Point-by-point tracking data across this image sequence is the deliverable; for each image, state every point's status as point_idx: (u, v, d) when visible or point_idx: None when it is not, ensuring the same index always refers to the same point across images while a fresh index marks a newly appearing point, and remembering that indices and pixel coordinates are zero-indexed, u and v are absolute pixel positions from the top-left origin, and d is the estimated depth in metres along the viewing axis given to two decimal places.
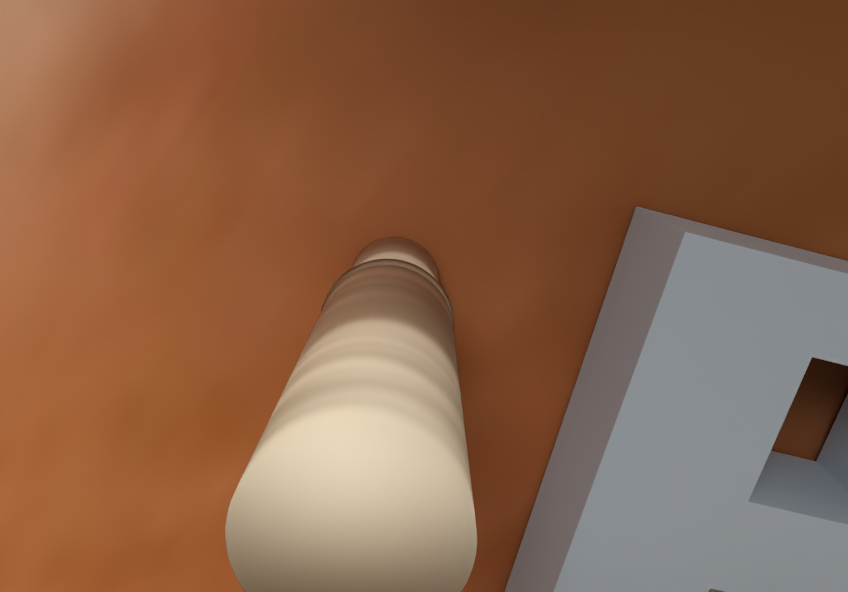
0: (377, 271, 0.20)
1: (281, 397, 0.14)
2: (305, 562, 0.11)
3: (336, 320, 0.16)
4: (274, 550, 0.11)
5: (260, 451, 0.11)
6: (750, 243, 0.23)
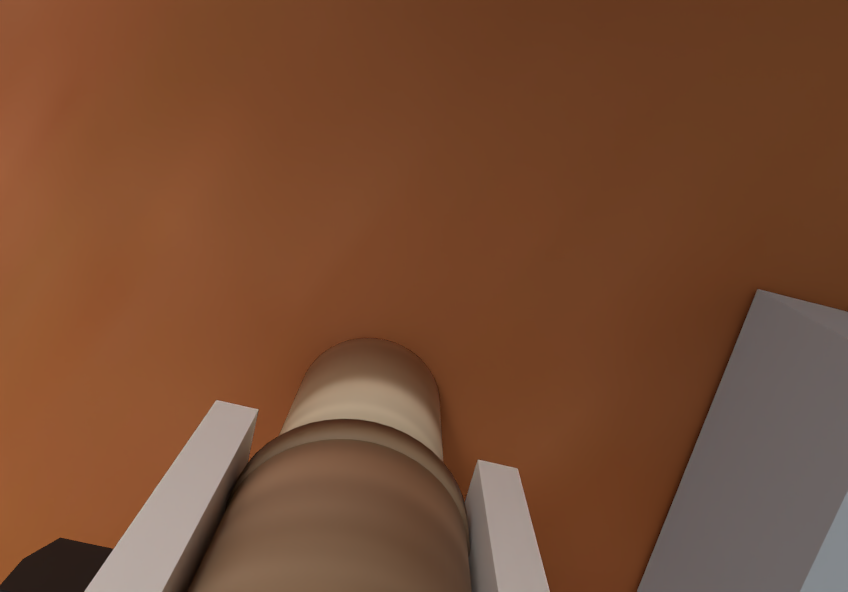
0: (321, 464, 0.10)
1: None
2: None
3: None
4: None
5: None
6: None
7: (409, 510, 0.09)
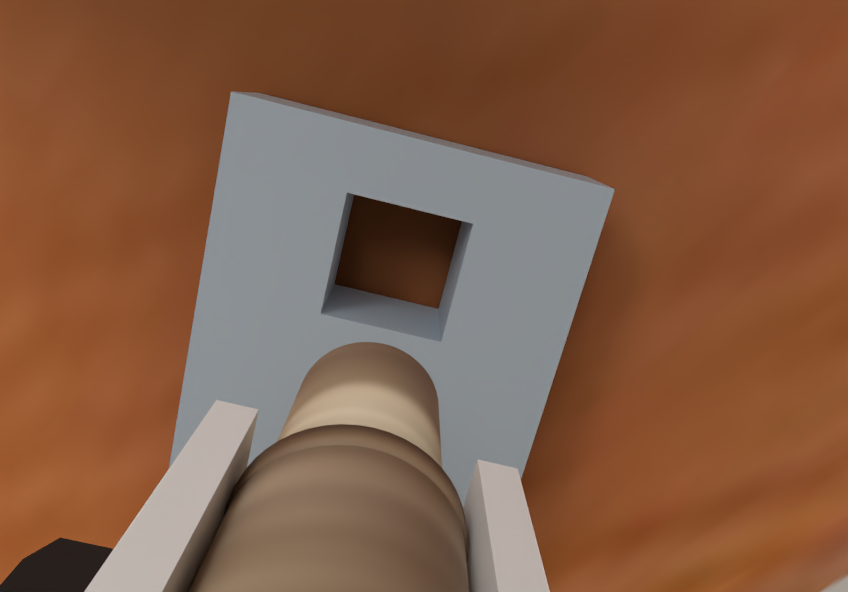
0: (319, 469, 0.10)
1: None
2: None
3: None
4: None
5: None
6: (311, 109, 0.29)
7: (407, 516, 0.09)
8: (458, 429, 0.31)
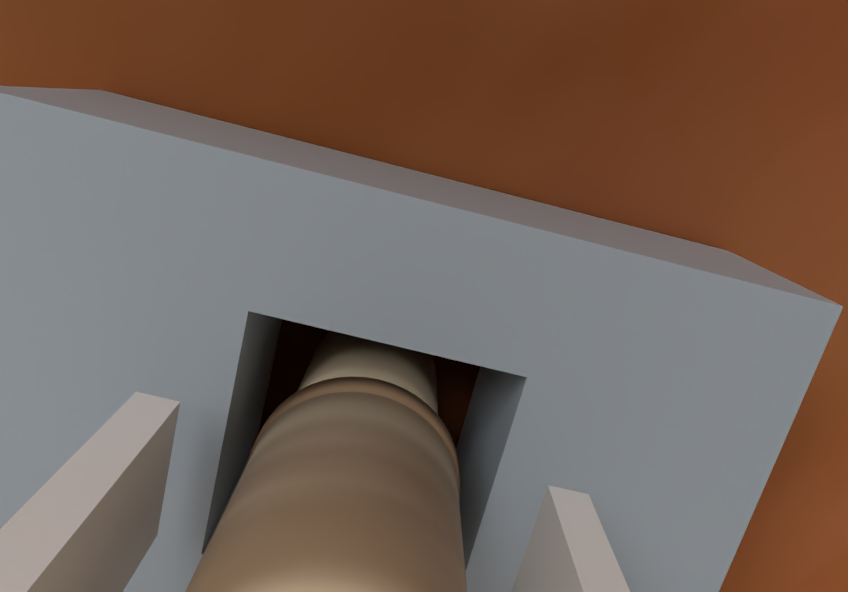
0: (333, 410, 0.12)
1: None
2: None
3: (235, 564, 0.08)
4: None
5: None
6: (180, 125, 0.14)
7: (408, 445, 0.11)
8: None
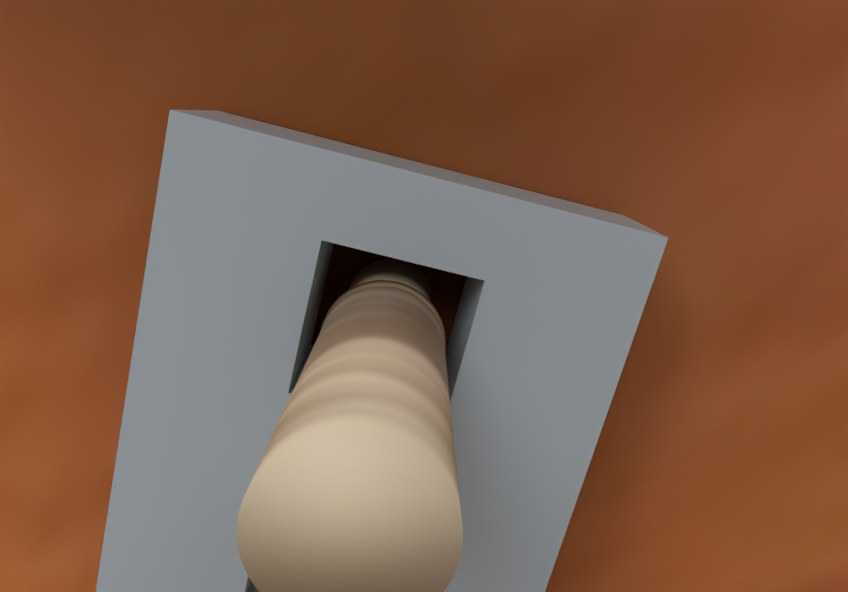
0: (373, 292, 0.21)
1: (285, 409, 0.15)
2: (308, 556, 0.12)
3: (335, 338, 0.17)
4: (280, 546, 0.12)
5: (268, 456, 0.12)
6: (278, 132, 0.23)
7: (415, 308, 0.20)
8: (463, 536, 0.25)
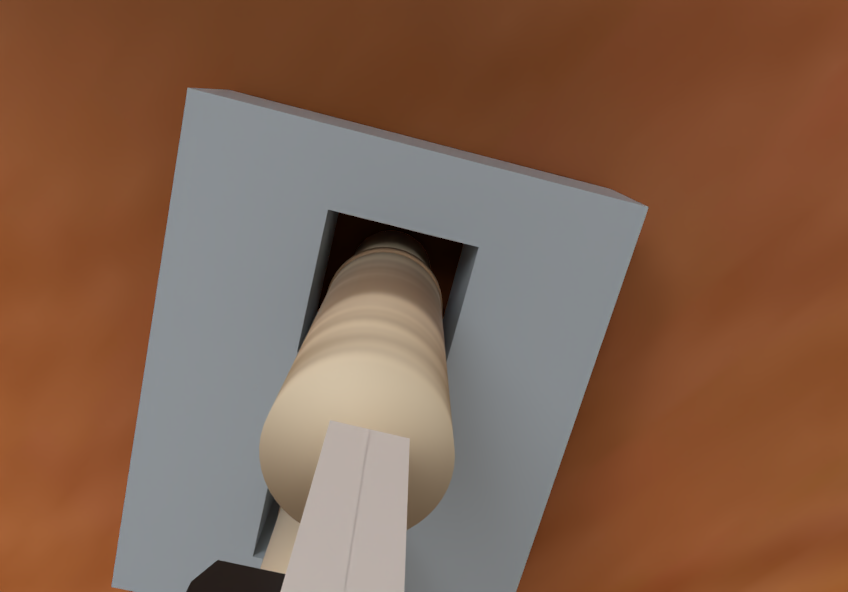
0: (376, 257, 0.23)
1: (298, 353, 0.17)
2: None
3: (342, 294, 0.19)
4: (297, 464, 0.14)
5: (286, 386, 0.14)
6: (287, 110, 0.25)
7: (414, 271, 0.22)
8: (459, 485, 0.27)
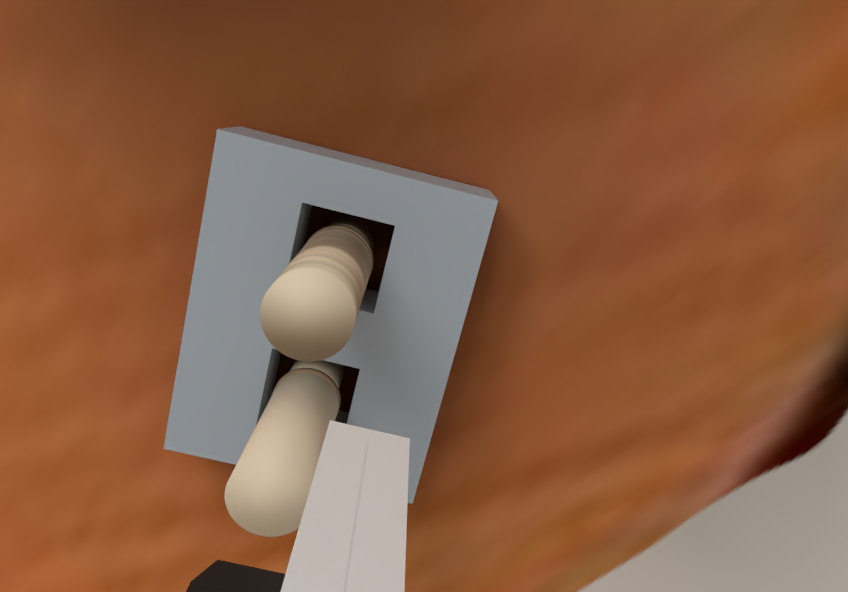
0: (330, 230, 0.38)
1: None
2: (290, 325, 0.29)
3: (306, 248, 0.34)
4: (278, 320, 0.29)
5: (273, 283, 0.29)
6: (277, 141, 0.40)
7: (352, 238, 0.37)
8: (388, 380, 0.42)
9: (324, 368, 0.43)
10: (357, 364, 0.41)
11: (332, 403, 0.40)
